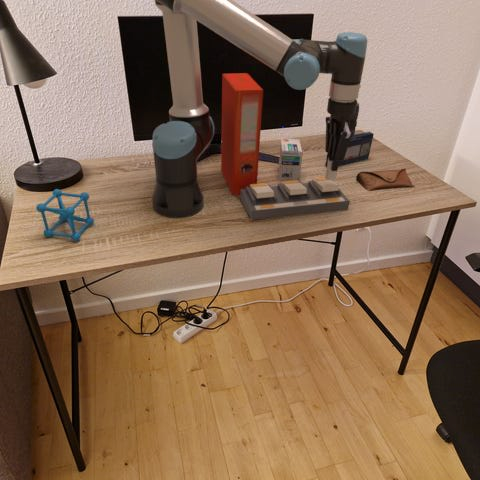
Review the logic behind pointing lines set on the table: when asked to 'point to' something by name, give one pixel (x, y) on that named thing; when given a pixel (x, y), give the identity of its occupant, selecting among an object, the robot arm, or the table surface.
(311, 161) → the table surface
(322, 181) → the switch right
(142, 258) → the table surface
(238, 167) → the file binder
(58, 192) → the molecular structure
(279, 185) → the switch unit
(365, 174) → the sunglasses case
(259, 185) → the switch left
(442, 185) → the table surface
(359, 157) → the vhs cassette tape
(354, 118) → the camera lens
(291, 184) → the switch middle
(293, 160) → the light bulb box
